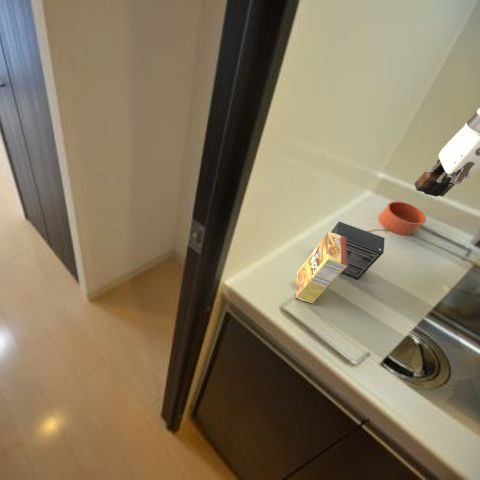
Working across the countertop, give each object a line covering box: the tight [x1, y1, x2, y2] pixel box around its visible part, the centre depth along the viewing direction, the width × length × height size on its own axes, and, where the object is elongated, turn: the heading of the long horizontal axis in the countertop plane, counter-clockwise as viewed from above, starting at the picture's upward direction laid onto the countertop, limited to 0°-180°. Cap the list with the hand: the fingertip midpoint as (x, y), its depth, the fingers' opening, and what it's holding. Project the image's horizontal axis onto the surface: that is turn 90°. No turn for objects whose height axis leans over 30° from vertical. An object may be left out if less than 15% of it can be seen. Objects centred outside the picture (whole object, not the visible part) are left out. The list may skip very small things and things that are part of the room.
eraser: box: [414, 171, 456, 198], centre depth 84 cm, size 6×3×4 cm, turn 68°
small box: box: [330, 220, 386, 280], centre depth 81 cm, size 11×6×10 cm, turn 58°
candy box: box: [295, 231, 348, 304], centre depth 74 cm, size 9×4×15 cm, turn 156°
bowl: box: [377, 200, 427, 236], centre depth 94 cm, size 10×10×4 cm
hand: (429, 189), depth 85 cm, fingers closed on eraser, 3 cm apart
